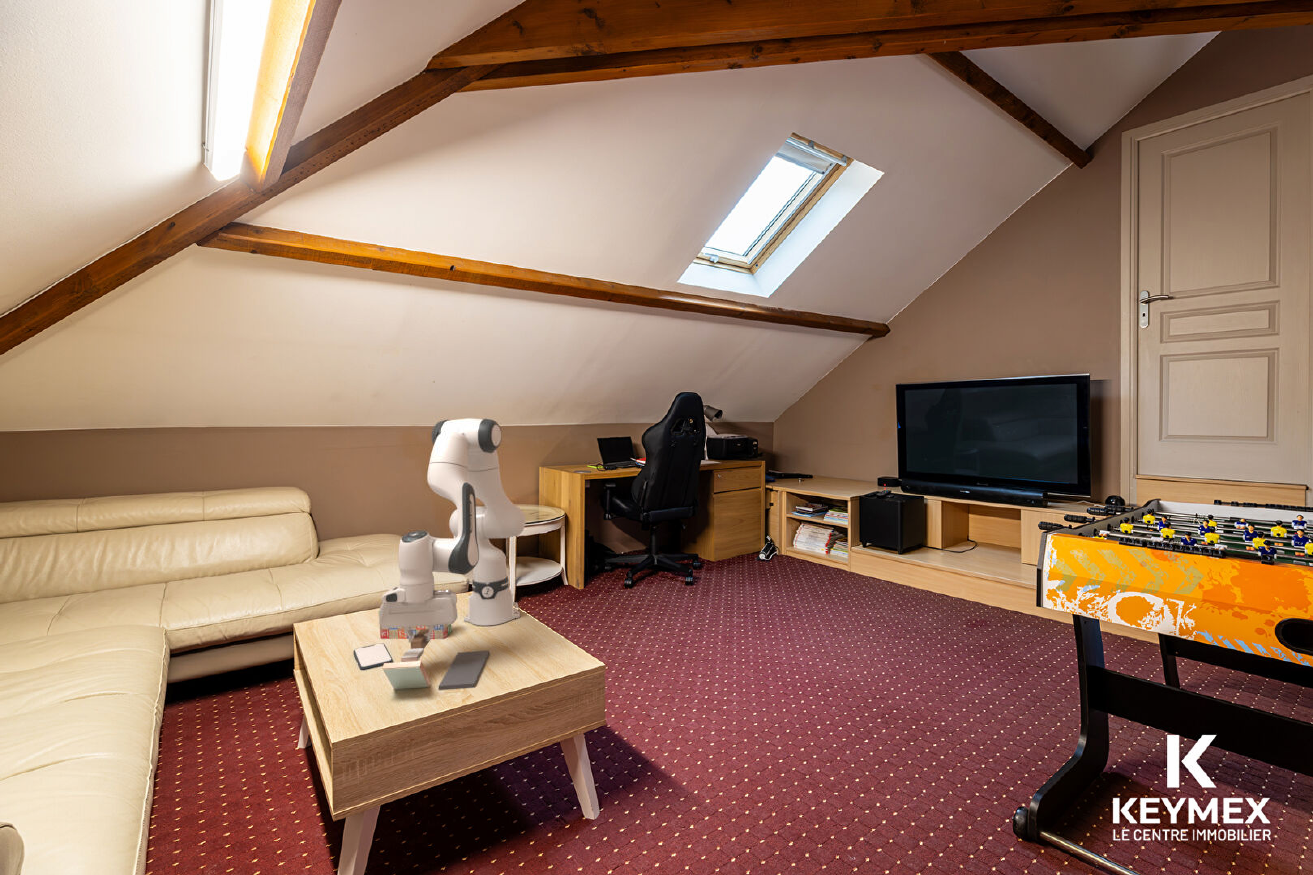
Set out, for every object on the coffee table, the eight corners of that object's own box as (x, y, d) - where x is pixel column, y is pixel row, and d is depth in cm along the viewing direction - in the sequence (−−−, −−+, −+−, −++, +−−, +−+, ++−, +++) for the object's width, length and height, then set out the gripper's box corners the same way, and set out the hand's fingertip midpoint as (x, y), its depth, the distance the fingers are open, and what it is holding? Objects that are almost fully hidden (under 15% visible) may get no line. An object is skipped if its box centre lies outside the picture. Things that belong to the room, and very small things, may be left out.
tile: (395, 683, 163) (383, 663, 155) (430, 681, 163) (420, 660, 156) (393, 689, 162) (382, 669, 154) (429, 687, 162) (419, 666, 155)
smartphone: (394, 665, 178) (384, 647, 192) (393, 659, 178) (384, 642, 192) (360, 673, 174) (352, 654, 187) (360, 668, 174) (352, 649, 187)
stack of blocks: (379, 639, 198) (377, 601, 198) (389, 632, 204) (387, 595, 204) (444, 639, 196) (442, 601, 196) (452, 632, 202) (450, 594, 202)
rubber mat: (458, 655, 182) (458, 652, 182) (489, 653, 183) (489, 650, 183) (438, 689, 160) (438, 685, 160) (474, 687, 161) (474, 683, 161)
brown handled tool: (419, 639, 177) (418, 629, 177) (433, 638, 177) (433, 628, 177) (401, 662, 161) (400, 650, 161) (417, 661, 161) (416, 649, 161)
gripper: (458, 586, 174) (461, 634, 175) (383, 590, 173) (386, 639, 173) (453, 592, 168) (456, 642, 169) (375, 597, 166) (378, 647, 167)
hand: (420, 641), depth 171 cm, fingers closed on brown handled tool, 3 cm apart
